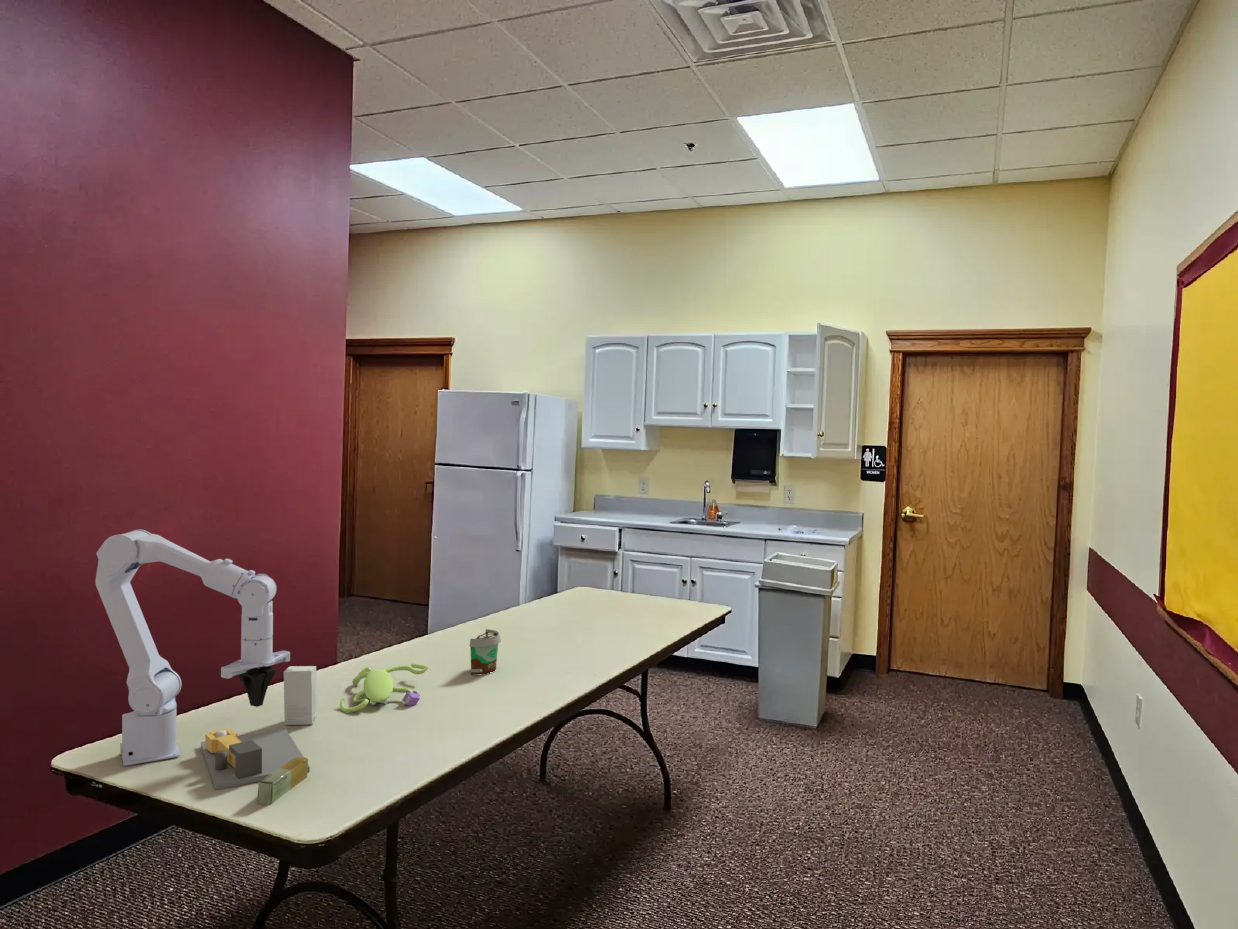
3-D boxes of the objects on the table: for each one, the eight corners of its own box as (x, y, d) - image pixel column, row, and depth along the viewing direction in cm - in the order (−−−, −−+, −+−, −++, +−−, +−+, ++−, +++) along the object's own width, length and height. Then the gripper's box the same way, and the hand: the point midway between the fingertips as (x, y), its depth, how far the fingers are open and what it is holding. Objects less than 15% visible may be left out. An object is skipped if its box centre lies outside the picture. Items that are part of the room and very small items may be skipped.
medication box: (270, 806, 139) (271, 783, 139) (256, 805, 140) (256, 782, 140) (308, 778, 151) (308, 757, 151) (294, 776, 152) (295, 755, 152)
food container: (490, 678, 215) (491, 640, 215) (468, 676, 216) (469, 639, 216) (506, 665, 227) (507, 630, 227) (485, 664, 228) (486, 628, 228)
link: (204, 746, 161) (204, 733, 161) (230, 740, 164) (230, 728, 164) (231, 771, 150) (231, 757, 149) (258, 764, 153) (258, 750, 153)
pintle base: (215, 790, 145) (215, 759, 145) (201, 747, 164) (201, 719, 164) (309, 771, 153) (309, 742, 153) (285, 733, 173) (285, 706, 173)
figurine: (429, 679, 214) (429, 658, 214) (419, 713, 188) (419, 689, 187) (356, 680, 211) (356, 659, 211) (336, 715, 185) (336, 691, 185)
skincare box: (317, 718, 182) (318, 665, 181) (312, 726, 177) (312, 670, 177) (289, 719, 181) (289, 665, 181) (282, 726, 177) (283, 671, 176)
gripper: (238, 648, 153) (238, 719, 154) (300, 632, 166) (300, 698, 167) (213, 643, 156) (213, 713, 157) (276, 628, 169) (276, 692, 170)
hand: (256, 705), depth 162 cm, fingers closed
